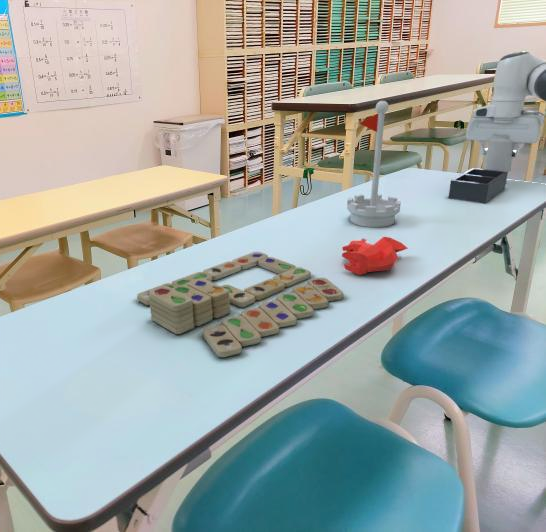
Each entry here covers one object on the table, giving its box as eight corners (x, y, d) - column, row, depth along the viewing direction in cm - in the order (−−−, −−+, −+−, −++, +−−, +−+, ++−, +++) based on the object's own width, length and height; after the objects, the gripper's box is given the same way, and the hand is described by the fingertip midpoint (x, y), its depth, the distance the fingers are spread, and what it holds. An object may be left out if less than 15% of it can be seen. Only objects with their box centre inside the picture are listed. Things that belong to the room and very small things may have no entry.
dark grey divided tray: (504, 188, 159) (508, 171, 157) (485, 203, 146) (488, 184, 144) (469, 184, 165) (472, 168, 163) (448, 198, 152) (450, 180, 150)
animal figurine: (414, 259, 110) (417, 237, 108) (381, 282, 100) (384, 258, 99) (364, 247, 118) (366, 226, 116) (329, 267, 108) (330, 245, 106)
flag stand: (389, 212, 142) (401, 97, 130) (405, 227, 130) (420, 102, 118) (341, 213, 142) (348, 99, 131) (352, 229, 130) (362, 104, 119)
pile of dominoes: (222, 364, 76) (221, 331, 74) (123, 305, 96) (120, 277, 94) (360, 292, 97) (362, 264, 95) (255, 255, 116) (255, 231, 114)
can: (485, 175, 163) (491, 136, 158) (481, 169, 169) (486, 132, 165) (512, 175, 160) (519, 135, 156) (507, 170, 167) (513, 131, 162)
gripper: (548, 109, 153) (539, 156, 158) (473, 108, 166) (468, 151, 171) (543, 112, 149) (534, 160, 154) (467, 110, 162) (461, 155, 167)
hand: (498, 155), depth 163 cm, fingers closed on can, 7 cm apart
